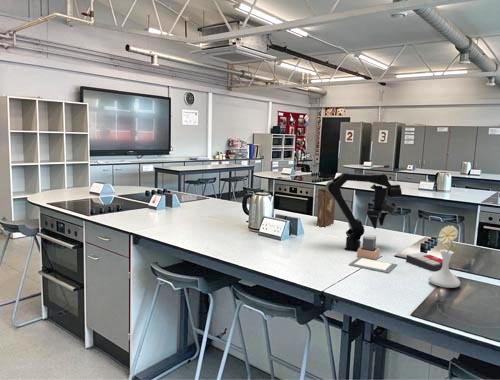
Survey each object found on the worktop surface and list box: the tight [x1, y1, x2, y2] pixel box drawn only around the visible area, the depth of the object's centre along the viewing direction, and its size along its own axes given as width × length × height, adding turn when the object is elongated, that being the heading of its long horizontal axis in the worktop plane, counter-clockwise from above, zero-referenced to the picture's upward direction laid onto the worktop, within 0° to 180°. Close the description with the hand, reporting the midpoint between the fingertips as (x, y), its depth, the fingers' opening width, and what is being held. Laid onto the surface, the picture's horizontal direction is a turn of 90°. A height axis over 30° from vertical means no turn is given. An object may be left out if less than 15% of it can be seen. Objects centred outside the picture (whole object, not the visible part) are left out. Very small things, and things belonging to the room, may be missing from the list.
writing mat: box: [348, 257, 398, 274], centre depth 175 cm, size 18×14×1 cm
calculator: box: [405, 252, 450, 272], centre depth 177 cm, size 11×4×15 cm
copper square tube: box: [356, 246, 381, 260], centre depth 188 cm, size 8×8×4 cm
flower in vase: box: [428, 225, 461, 289], centre depth 150 cm, size 13×11×25 cm
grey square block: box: [361, 233, 377, 252], centre depth 188 cm, size 5×5×10 cm
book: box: [316, 187, 336, 228], centre depth 258 cm, size 16×6×25 cm, turn 144°
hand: (378, 227), depth 200 cm, fingers open, 9 cm apart
